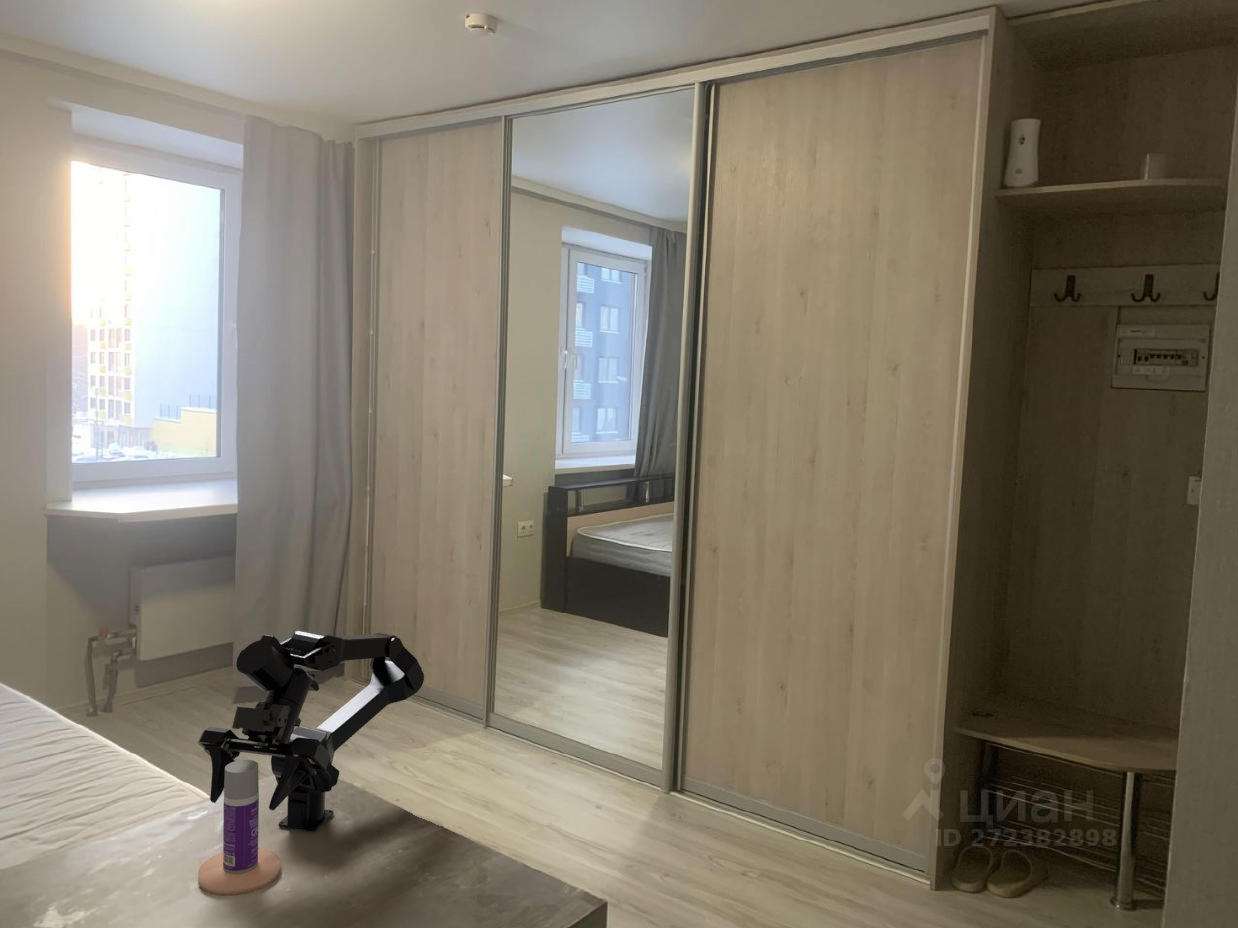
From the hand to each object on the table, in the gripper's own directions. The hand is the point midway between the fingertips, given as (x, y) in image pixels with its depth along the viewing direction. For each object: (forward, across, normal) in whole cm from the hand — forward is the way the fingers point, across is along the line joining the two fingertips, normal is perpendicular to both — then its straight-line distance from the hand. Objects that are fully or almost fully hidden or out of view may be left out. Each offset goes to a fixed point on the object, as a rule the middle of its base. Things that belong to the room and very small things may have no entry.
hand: (241, 805), depth 131 cm
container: (+7, 0, +7) cm, 9 cm away
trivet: (+7, 0, +7) cm, 10 cm away
